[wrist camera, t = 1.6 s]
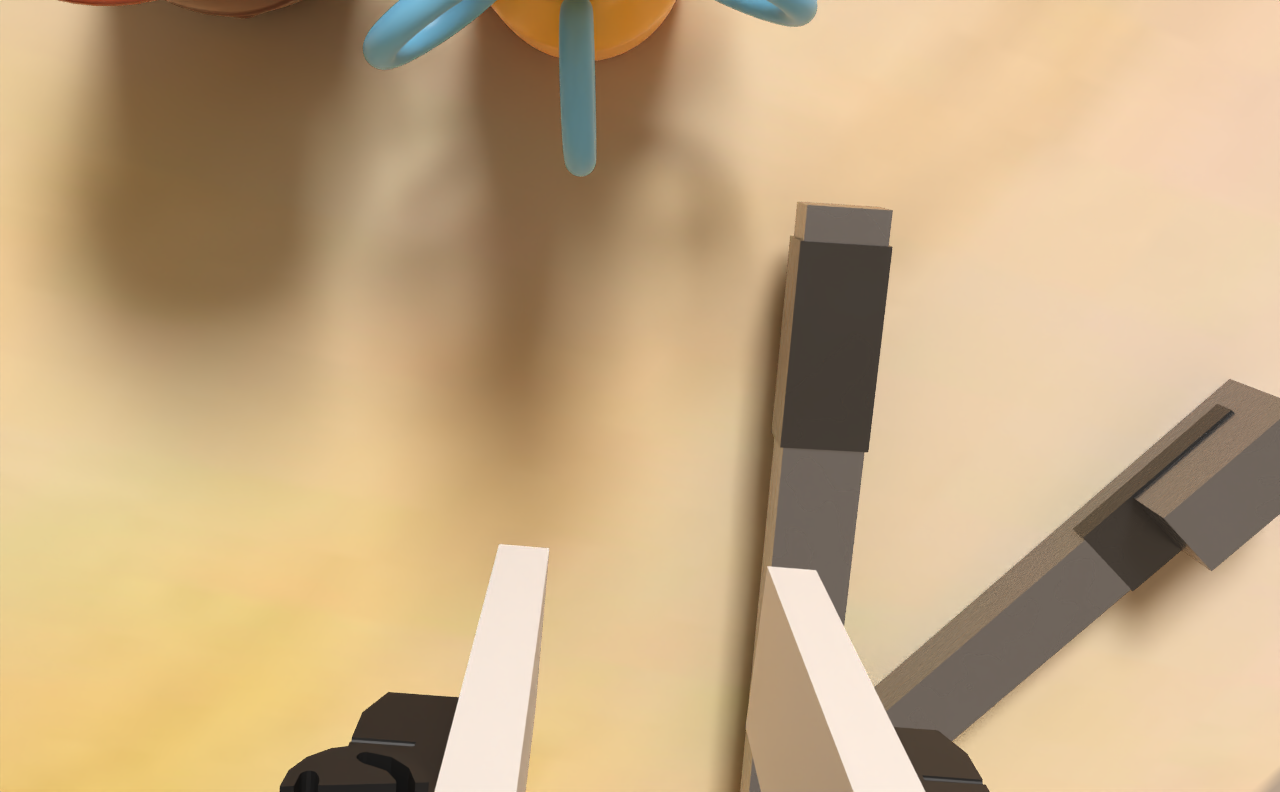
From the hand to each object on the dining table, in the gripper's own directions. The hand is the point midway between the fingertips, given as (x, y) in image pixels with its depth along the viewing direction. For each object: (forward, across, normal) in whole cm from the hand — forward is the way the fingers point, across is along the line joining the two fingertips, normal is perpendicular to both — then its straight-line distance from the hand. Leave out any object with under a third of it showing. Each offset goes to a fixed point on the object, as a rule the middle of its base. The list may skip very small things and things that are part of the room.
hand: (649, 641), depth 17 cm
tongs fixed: (+19, +13, -8) cm, 24 cm away
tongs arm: (+17, +6, -4) cm, 18 cm away
